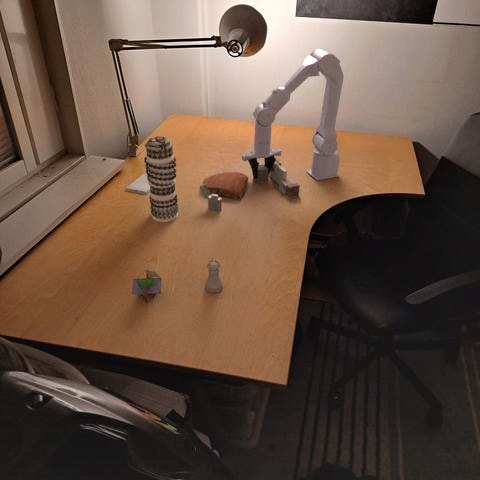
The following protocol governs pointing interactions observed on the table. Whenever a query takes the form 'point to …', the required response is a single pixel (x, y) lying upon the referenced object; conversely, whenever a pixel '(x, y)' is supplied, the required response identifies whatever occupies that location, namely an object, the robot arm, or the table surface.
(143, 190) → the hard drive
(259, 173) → the grey block
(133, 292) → the geometric puzzle
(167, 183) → the decorative candle
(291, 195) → the door frame
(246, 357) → the table surface
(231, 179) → the ceramic shard
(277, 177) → the cream bar
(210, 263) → the rook chess piece
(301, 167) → the table surface
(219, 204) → the lighter
